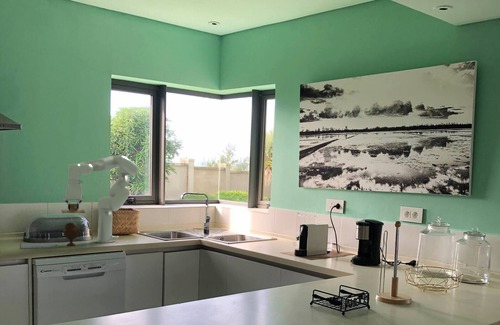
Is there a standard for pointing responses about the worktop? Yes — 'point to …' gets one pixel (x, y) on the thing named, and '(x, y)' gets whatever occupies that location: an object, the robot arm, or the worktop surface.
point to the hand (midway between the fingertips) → (73, 209)
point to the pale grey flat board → (38, 245)
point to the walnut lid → (73, 209)
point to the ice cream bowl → (71, 233)
